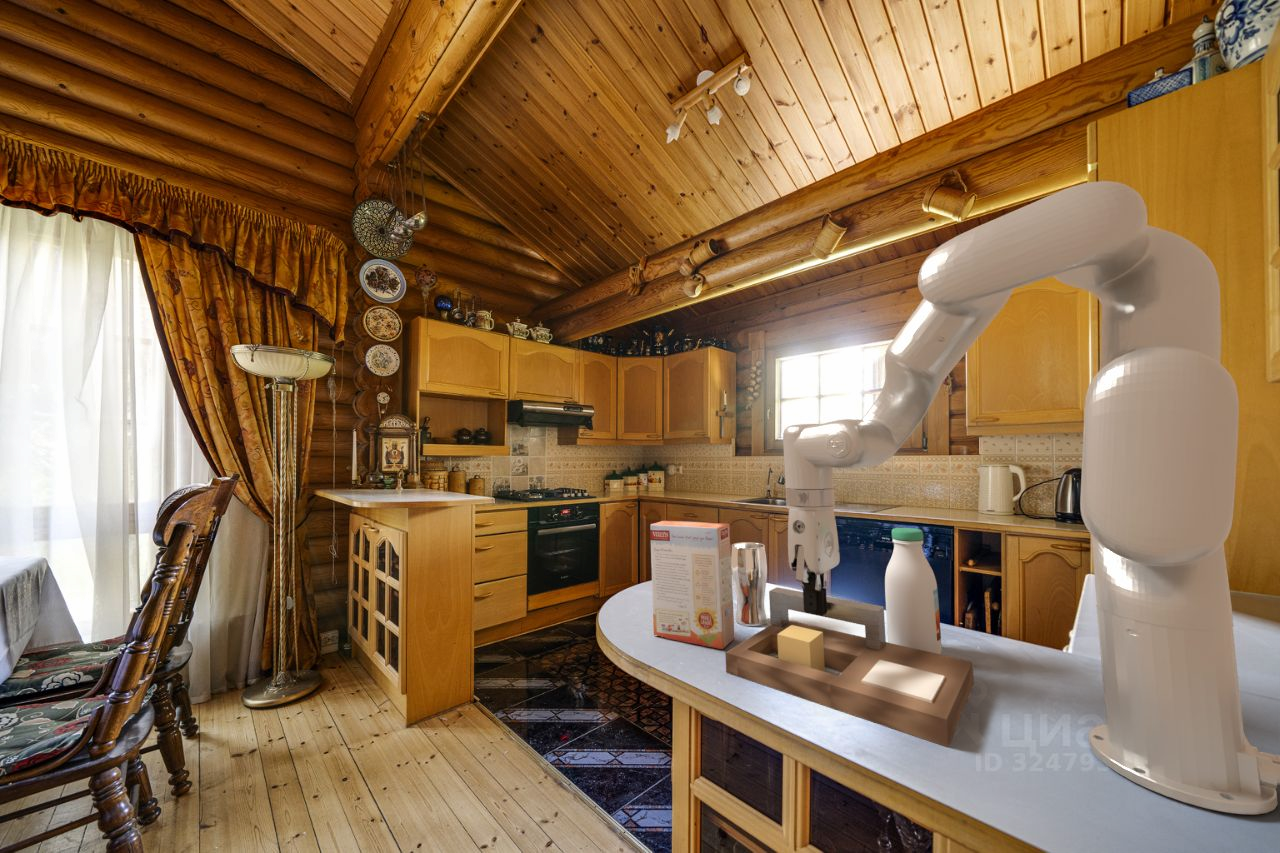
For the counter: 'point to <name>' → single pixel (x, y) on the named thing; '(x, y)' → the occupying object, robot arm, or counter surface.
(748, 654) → the brown wooden divided tray
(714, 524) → the cracker box
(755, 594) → the beer glass
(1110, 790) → the counter surface
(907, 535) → the milk bottle
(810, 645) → the ochre block
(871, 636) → the gray bridge block
